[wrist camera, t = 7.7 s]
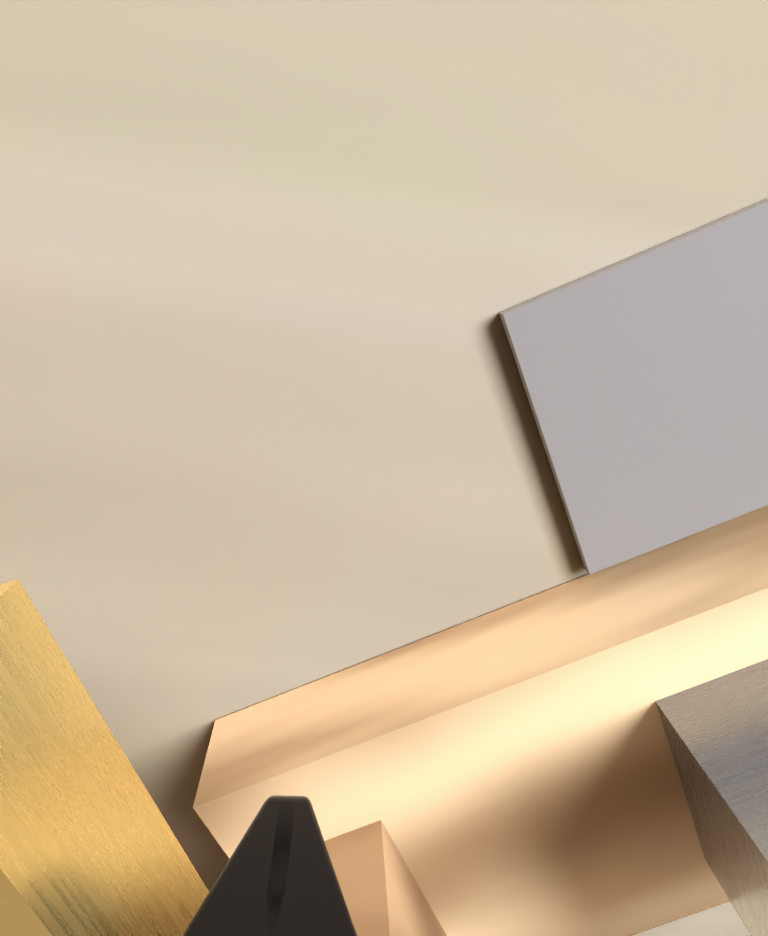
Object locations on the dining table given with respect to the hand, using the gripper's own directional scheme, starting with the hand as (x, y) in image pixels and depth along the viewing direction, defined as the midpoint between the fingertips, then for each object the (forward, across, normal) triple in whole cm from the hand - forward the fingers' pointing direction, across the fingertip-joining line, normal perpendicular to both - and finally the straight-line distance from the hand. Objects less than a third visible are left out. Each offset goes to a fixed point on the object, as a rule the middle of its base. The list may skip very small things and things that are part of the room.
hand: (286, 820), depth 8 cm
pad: (+9, -10, -4) cm, 14 cm away
